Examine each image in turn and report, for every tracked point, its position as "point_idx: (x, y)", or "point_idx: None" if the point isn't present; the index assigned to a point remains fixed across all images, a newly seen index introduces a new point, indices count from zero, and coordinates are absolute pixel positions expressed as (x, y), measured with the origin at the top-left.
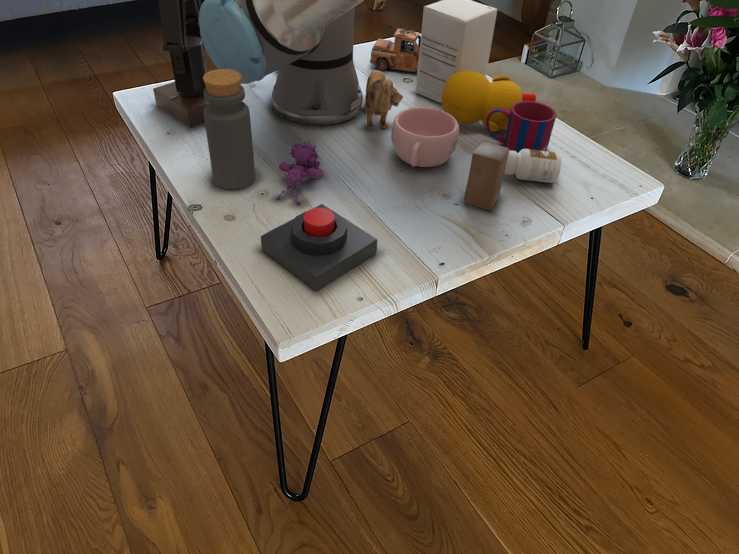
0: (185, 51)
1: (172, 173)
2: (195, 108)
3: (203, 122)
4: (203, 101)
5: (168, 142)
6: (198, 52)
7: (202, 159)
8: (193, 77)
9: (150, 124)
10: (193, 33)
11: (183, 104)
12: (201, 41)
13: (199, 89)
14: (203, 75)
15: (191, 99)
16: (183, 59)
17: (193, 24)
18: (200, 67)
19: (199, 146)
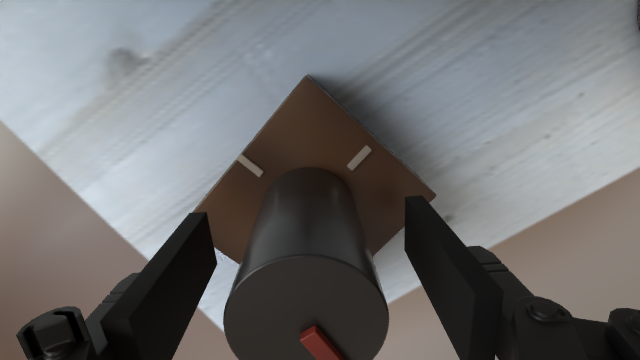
0: (541, 298)
1: (632, 161)
2: (418, 178)
3: (392, 152)
4: (375, 166)
5: (489, 208)
6: (347, 245)
7: (578, 108)
8: (420, 216)
9: (404, 268)
10: (158, 323)
11: (400, 216)
12: (294, 261)
13: (347, 191)
14: (332, 193)
15: (365, 203)
16: (515, 284)
17: (113, 356)
18: (343, 212)
19: (512, 131)
